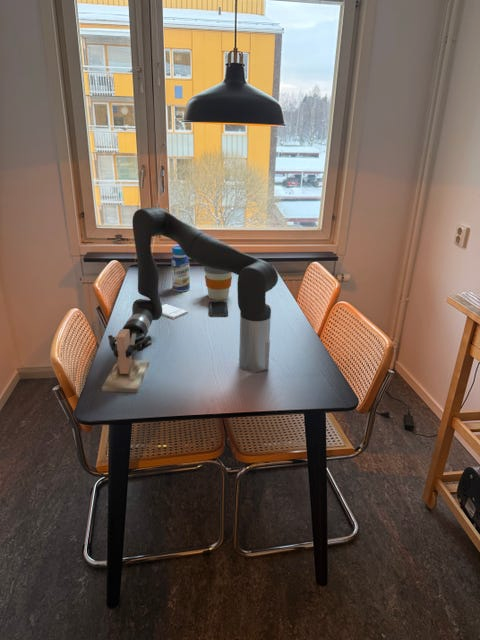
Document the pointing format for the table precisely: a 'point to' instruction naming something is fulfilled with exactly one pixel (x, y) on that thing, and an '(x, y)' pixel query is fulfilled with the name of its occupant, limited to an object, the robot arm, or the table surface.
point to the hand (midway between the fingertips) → (121, 354)
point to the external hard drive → (172, 311)
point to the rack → (126, 378)
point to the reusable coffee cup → (217, 283)
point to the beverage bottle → (180, 270)
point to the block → (123, 351)
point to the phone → (218, 309)
